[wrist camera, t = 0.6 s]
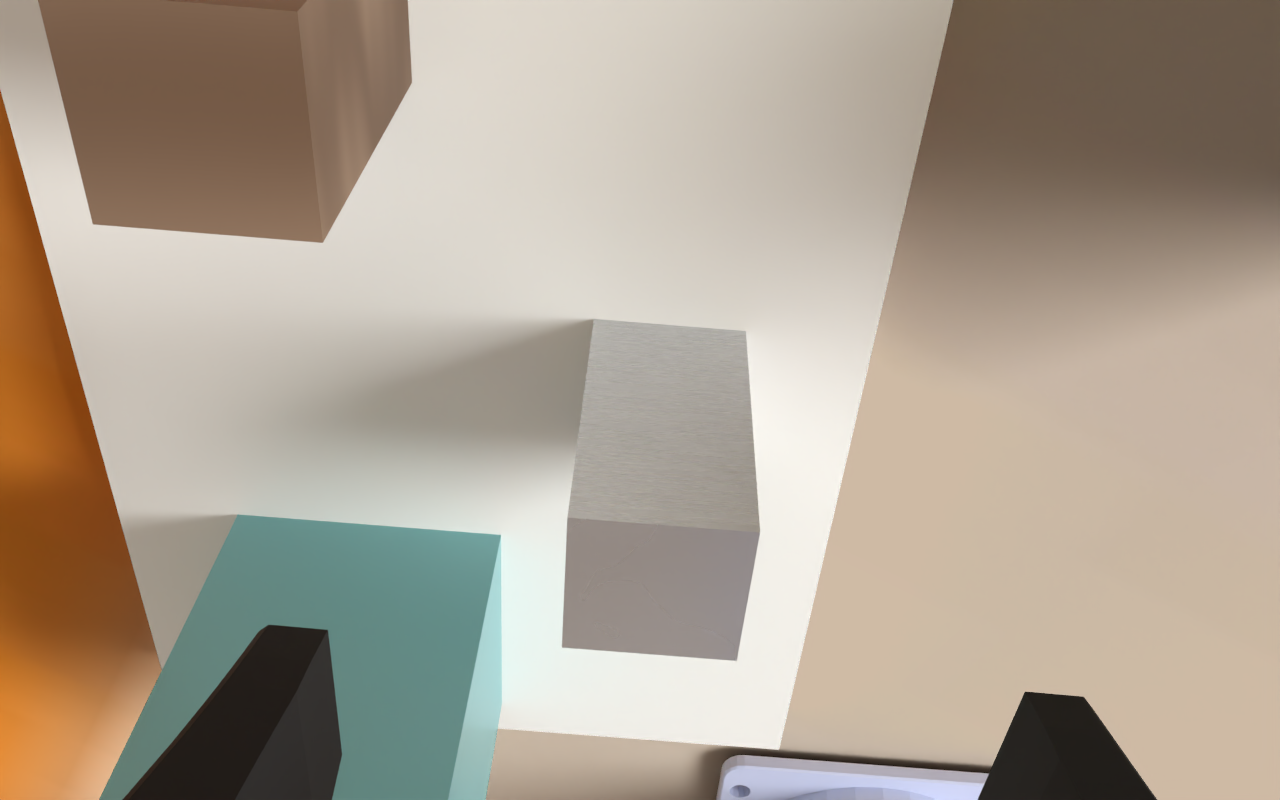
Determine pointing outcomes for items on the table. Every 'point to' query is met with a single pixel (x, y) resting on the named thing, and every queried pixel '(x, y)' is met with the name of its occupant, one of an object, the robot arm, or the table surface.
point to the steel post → (662, 494)
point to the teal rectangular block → (354, 649)
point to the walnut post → (227, 107)
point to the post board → (515, 310)
